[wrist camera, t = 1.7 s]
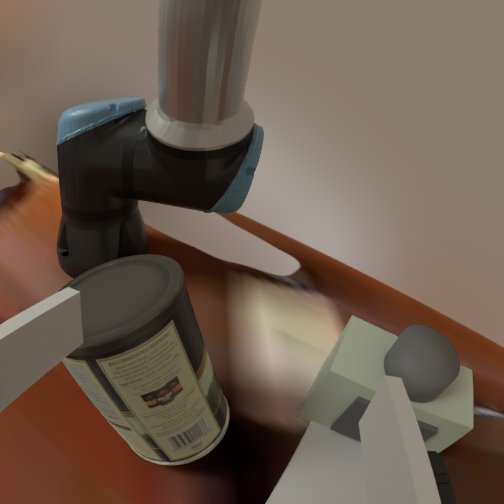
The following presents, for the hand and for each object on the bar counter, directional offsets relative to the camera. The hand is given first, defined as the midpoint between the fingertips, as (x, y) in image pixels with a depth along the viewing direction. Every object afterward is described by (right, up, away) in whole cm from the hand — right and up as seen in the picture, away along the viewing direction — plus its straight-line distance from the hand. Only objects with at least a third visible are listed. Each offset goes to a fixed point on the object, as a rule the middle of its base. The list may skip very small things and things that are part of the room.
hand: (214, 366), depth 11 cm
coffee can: (-6, -11, +13) cm, 17 cm away
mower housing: (+12, -17, +12) cm, 24 cm away
